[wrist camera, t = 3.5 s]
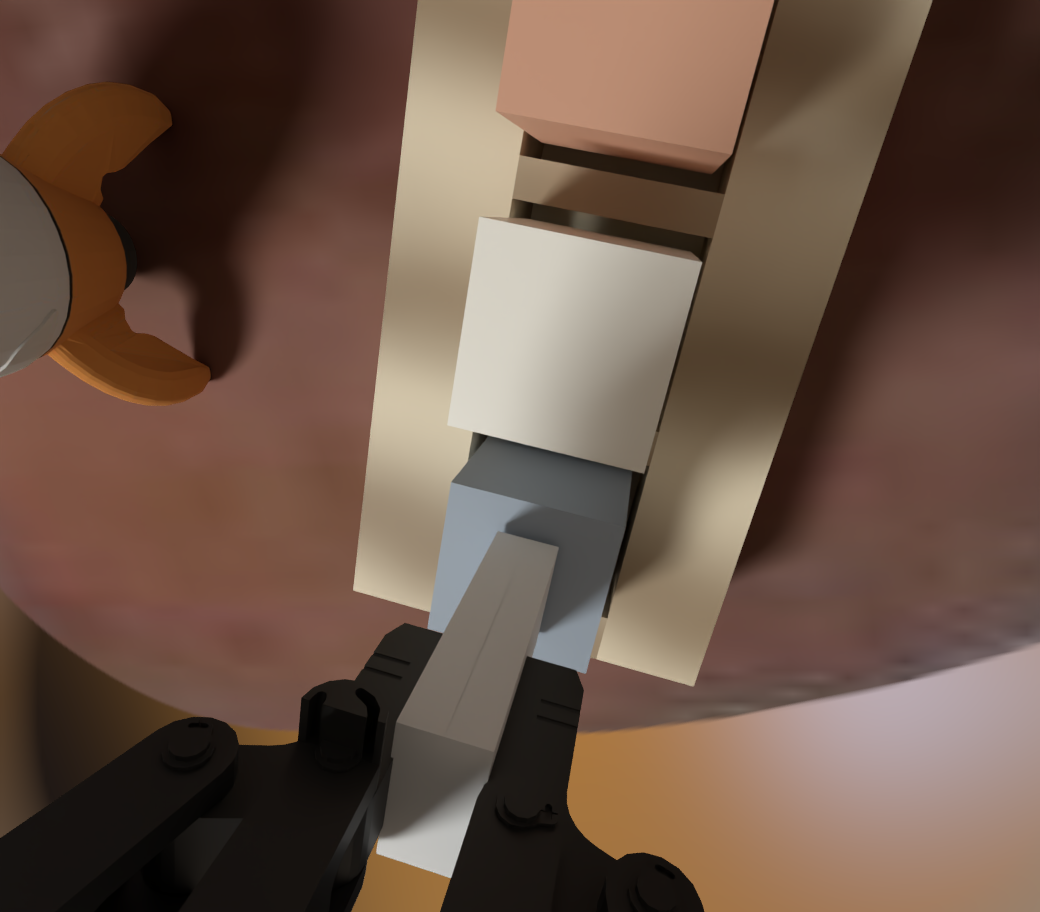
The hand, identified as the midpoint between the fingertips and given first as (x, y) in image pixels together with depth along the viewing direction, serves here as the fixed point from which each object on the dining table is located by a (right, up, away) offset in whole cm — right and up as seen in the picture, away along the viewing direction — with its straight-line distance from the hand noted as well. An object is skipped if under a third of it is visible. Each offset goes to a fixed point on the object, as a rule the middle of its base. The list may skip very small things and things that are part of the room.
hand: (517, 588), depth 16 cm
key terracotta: (+3, +12, -1) cm, 13 cm away
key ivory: (+2, +7, +2) cm, 7 cm away
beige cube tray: (+3, +8, +6) cm, 10 cm away
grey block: (+1, +2, +5) cm, 5 cm away
